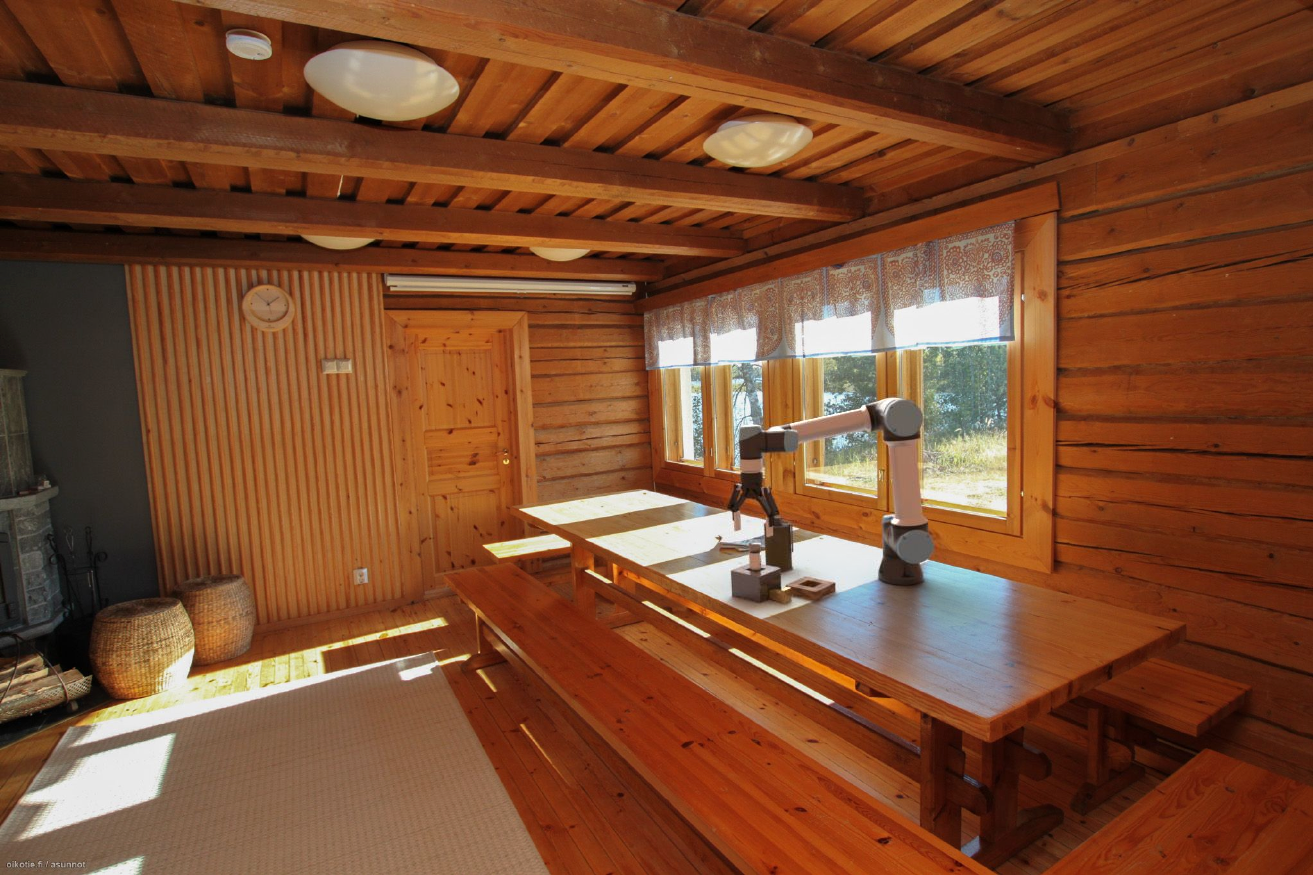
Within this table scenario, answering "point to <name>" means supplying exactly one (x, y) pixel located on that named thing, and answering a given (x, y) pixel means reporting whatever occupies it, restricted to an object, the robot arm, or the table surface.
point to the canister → (779, 545)
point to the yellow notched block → (780, 595)
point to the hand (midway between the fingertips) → (753, 533)
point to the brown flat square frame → (811, 588)
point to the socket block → (755, 582)
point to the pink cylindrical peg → (755, 556)
